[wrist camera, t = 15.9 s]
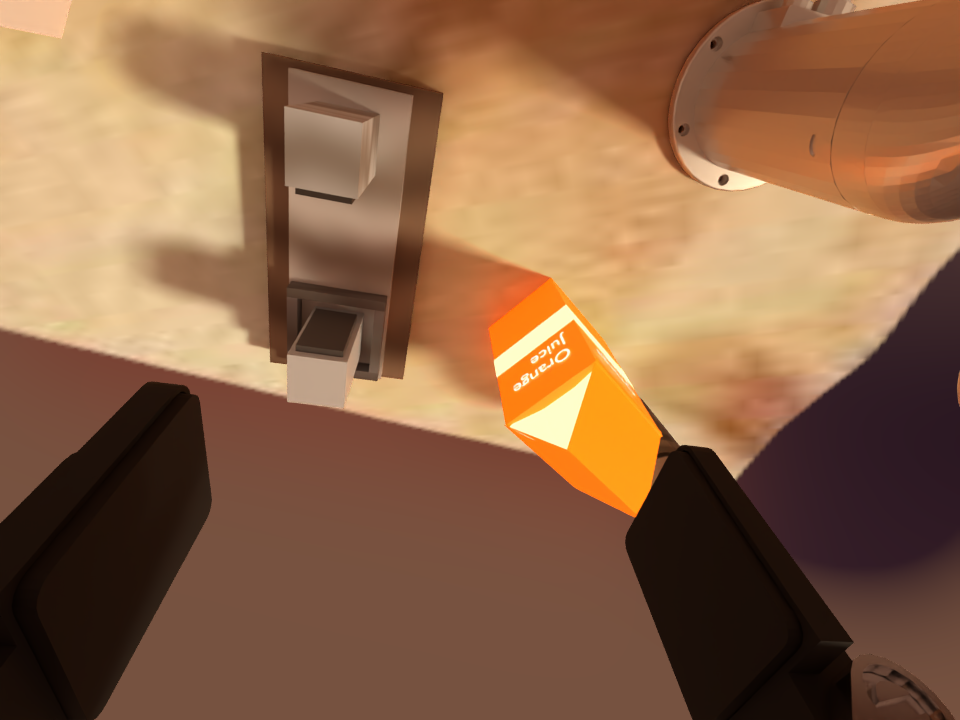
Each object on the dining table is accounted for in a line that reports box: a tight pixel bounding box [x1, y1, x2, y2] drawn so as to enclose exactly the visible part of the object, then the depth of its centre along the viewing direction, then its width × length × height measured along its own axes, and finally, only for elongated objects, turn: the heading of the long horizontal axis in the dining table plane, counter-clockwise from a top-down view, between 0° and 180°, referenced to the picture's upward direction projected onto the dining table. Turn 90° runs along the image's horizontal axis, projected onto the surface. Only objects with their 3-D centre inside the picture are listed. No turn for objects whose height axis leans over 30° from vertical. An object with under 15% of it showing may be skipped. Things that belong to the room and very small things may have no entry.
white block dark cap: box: [287, 306, 364, 409], centre depth 36 cm, size 4×4×8 cm
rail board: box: [262, 52, 443, 381], centre depth 34 cm, size 24×12×11 cm, turn 169°
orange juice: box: [489, 278, 662, 517], centre depth 36 cm, size 8×9×20 cm
